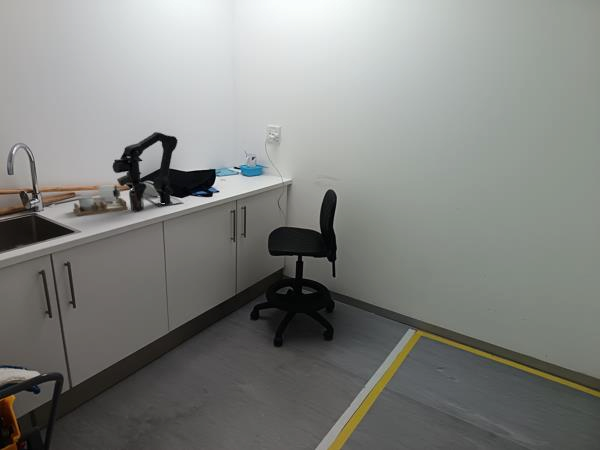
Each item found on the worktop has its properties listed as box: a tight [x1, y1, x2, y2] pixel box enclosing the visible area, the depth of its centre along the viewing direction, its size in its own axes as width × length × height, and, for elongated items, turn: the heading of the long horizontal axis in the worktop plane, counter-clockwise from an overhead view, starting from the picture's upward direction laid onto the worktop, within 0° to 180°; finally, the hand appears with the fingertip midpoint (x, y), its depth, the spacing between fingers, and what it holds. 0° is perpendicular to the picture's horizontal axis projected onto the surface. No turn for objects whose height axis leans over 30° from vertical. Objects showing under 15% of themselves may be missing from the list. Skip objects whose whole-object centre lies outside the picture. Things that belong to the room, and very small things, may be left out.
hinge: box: [142, 180, 160, 198], centre depth 252 cm, size 17×5×10 cm, turn 52°
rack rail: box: [72, 196, 129, 217], centre depth 218 cm, size 10×25×8 cm, turn 129°
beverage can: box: [128, 188, 145, 212], centre depth 220 cm, size 7×7×12 cm
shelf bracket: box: [98, 184, 121, 204], centre depth 235 cm, size 6×25×13 cm, turn 43°
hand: (136, 198), depth 220 cm, fingers open, 9 cm apart
